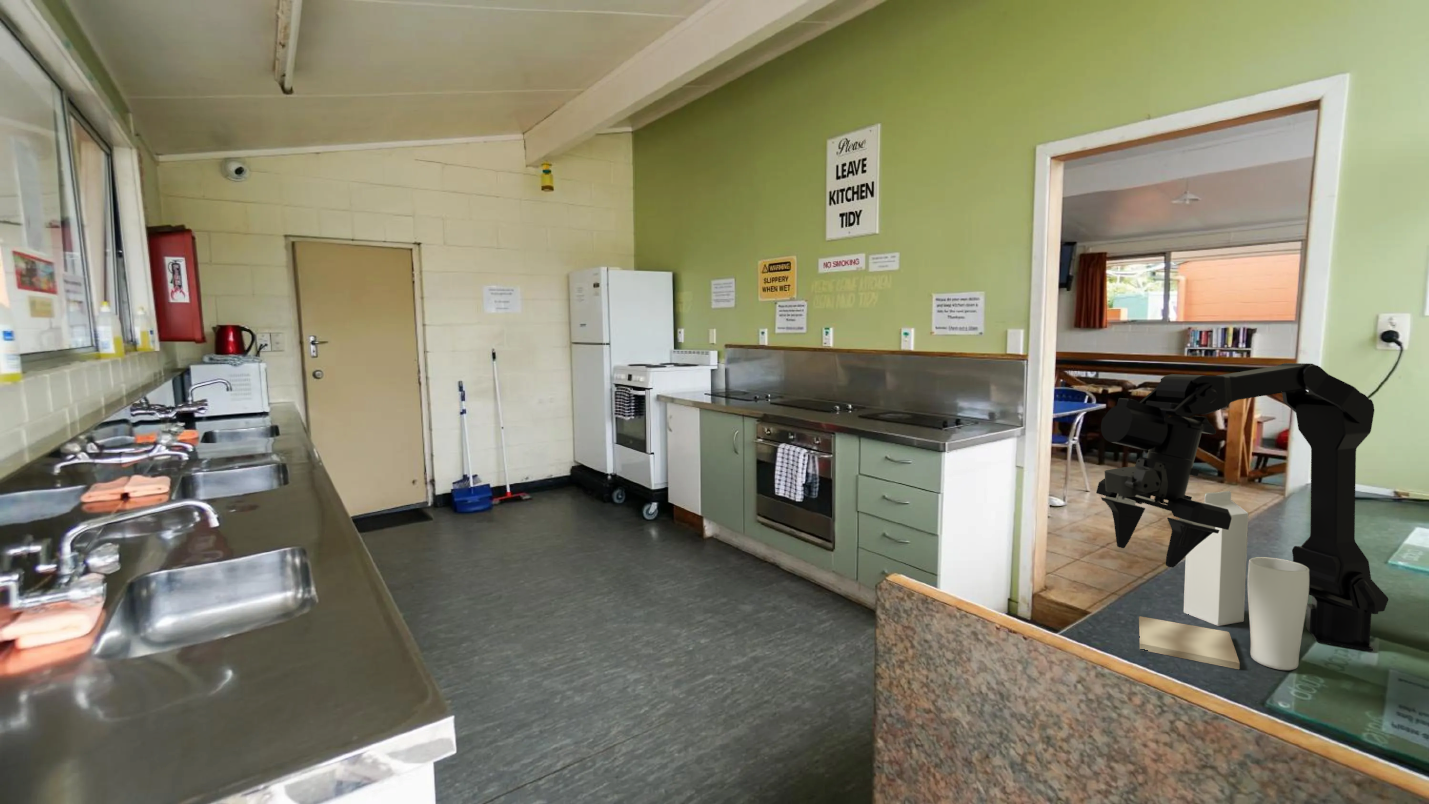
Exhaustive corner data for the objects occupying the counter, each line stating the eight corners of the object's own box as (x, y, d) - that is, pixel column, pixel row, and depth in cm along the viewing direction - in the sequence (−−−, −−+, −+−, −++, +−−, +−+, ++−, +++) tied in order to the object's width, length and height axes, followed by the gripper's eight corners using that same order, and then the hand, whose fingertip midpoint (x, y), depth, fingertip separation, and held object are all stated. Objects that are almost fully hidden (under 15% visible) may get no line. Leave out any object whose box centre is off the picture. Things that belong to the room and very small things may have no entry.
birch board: (1228, 637, 102) (1228, 631, 102) (1239, 669, 92) (1239, 662, 92) (1139, 621, 108) (1139, 616, 108) (1139, 649, 98) (1140, 643, 98)
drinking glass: (1317, 676, 90) (1322, 573, 88) (1262, 672, 91) (1266, 570, 90) (1284, 654, 96) (1289, 557, 95) (1233, 650, 97) (1237, 555, 96)
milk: (1244, 622, 108) (1251, 494, 106) (1217, 626, 106) (1224, 497, 104) (1207, 608, 114) (1213, 487, 112) (1181, 612, 112) (1187, 489, 110)
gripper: (1079, 437, 103) (1055, 529, 103) (1177, 455, 84) (1147, 567, 85) (1139, 451, 104) (1115, 542, 105) (1247, 472, 86) (1217, 582, 87)
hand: (1143, 556), depth 95 cm, fingers open, 9 cm apart
